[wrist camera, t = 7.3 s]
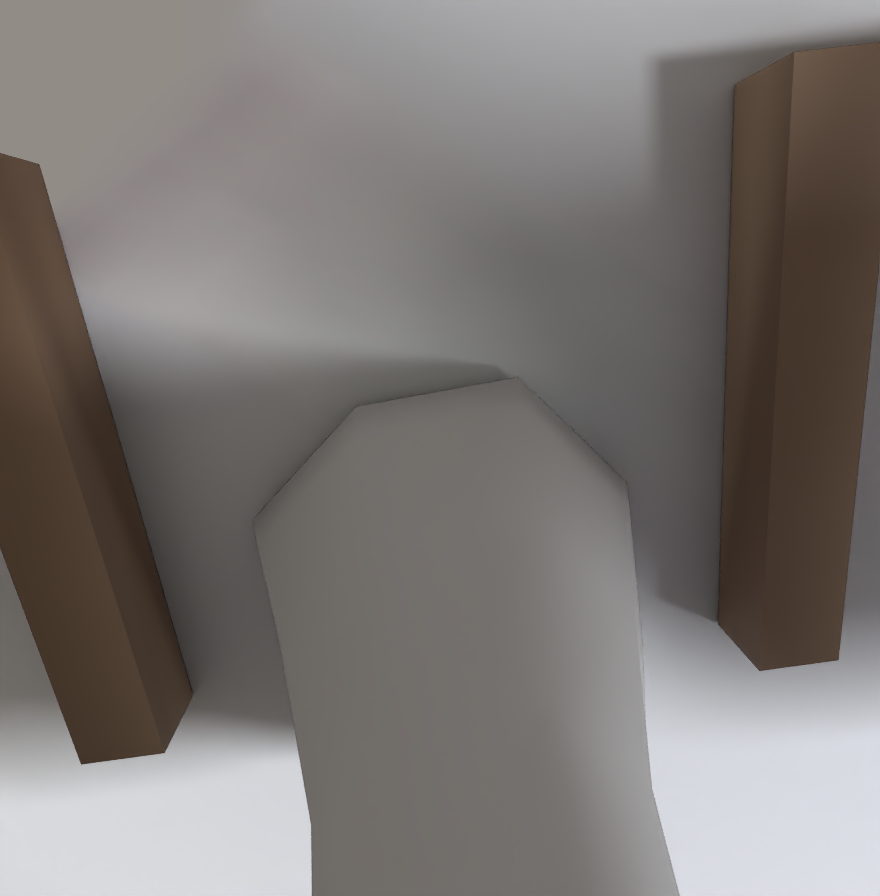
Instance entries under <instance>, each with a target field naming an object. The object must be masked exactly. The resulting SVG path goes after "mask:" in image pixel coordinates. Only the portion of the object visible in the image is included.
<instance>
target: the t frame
mask: <svg viewBox="0 0 880 896" xmlns="http://www.w3.org/2000/svg"><path fill="white" fill-rule="evenodd" d="M879 262H880V42H877V43H868V44H859V45H850V46H841V47H832V48H824V49H815V50H806V51H797V52H793V53H791V54H789V55H788V56H786V57H784V58H782V59H780V60H779V61H777V62H775V63H773V64H771V65H770V66H768V67H766V68H764V69H762V70H761V71H759V72H757V73H755V74H753V75H752V76H750V77H748V78H746V79H744V80H743V81H741V82H739V83H737V84H735V89H734V121H733V154H732V187H731V219H730V252H729V285H728V318H727V350H726V383H725V416H724V448H723V481H722V514H721V547H720V579H719V612H718V625H719V626H720V627H721V628H722V629H723V630H724V631H725V633H726V634H727V635H728V636H729V637H730V638H731V639H732V640H733V642H734V643H735V644H736V645H737V646H738V647H739V648H740V650H741V651H742V652H743V653H744V654H745V655H746V656H747V657H748V659H749V660H750V661H751V662H752V663H753V664H754V665H755V666H756V668H757V669H758V670H759V671H763V670H770V669H777V668H785V667H792V666H799V665H806V664H814V663H821V662H828V661H835V660H838V659H839V650H840V640H841V630H842V621H843V611H844V601H845V592H846V582H847V572H848V563H849V553H850V543H851V534H852V524H853V514H854V504H855V495H856V485H857V475H858V466H859V456H860V446H861V437H862V427H863V417H864V408H865V398H866V388H867V379H868V369H869V359H870V349H871V340H872V330H873V320H874V311H875V301H876V291H877V282H878V272H879ZM0 548H1V551H2V553H3V556H4V559H5V561H6V564H7V567H8V569H9V572H10V575H11V578H12V580H13V583H14V586H15V588H16V591H17V594H18V596H19V599H20V602H21V604H22V607H23V610H24V612H25V615H26V618H27V620H28V623H29V626H30V628H31V631H32V634H33V636H34V639H35V642H36V644H37V647H38V650H39V653H40V655H41V658H42V661H43V663H44V666H45V669H46V671H47V674H48V677H49V679H50V682H51V685H52V687H53V690H54V693H55V695H56V698H57V701H58V703H59V706H60V709H61V711H62V714H63V717H64V720H65V722H66V725H67V728H68V730H69V733H70V736H71V738H72V741H73V744H74V746H75V749H76V752H77V754H78V757H79V760H80V762H81V764H88V763H96V762H103V761H110V760H117V759H125V758H132V757H139V756H146V755H154V754H161V753H165V751H166V749H167V747H168V745H169V743H170V741H171V739H172V737H173V735H174V733H175V731H176V729H177V727H178V725H179V723H180V721H181V719H182V717H183V715H184V713H185V711H186V709H187V707H188V705H189V703H190V700H191V698H192V696H193V694H192V691H191V687H190V684H189V680H188V677H187V673H186V670H185V666H184V663H183V660H182V656H181V653H180V649H179V646H178V642H177V639H176V635H175V632H174V628H173V625H172V621H171V618H170V615H169V611H168V608H167V604H166V601H165V597H164V594H163V590H162V587H161V583H160V580H159V577H158V573H157V570H156V566H155V563H154V559H153V556H152V552H151V549H150V545H149V542H148V539H147V535H146V532H145V528H144V525H143V521H142V518H141V514H140V511H139V507H138V504H137V500H136V497H135V494H134V490H133V487H132V483H131V480H130V476H129V473H128V469H127V466H126V462H125V459H124V456H123V452H122V449H121V445H120V442H119V438H118V435H117V431H116V428H115V424H114V421H113V417H112V414H111V411H110V407H109V404H108V400H107V397H106V393H105V390H104V386H103V383H102V379H101V376H100V373H99V369H98V366H97V362H96V359H95V355H94V352H93V348H92V345H91V341H90V338H89V335H88V331H87V328H86V324H85V321H84V317H83V314H82V310H81V307H80V303H79V300H78V296H77V293H76V290H75V286H74V283H73V279H72V276H71V272H70V269H69V265H68V262H67V258H66V255H65V252H64V248H63V245H62V241H61V238H60V234H59V231H58V227H57V224H56V220H55V217H54V213H53V210H52V207H51V203H50V200H49V196H48V193H47V190H46V186H45V182H44V179H43V176H42V172H41V169H40V165H39V164H36V163H33V162H29V161H26V160H22V159H19V158H15V157H12V156H8V155H5V154H1V153H0Z"/></svg>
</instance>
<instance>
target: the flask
mask: <svg viewBox="0 0 880 896" xmlns="http://www.w3.org/2000/svg"><path fill="white" fill-rule="evenodd" d="M253 525H254V531H255V537H256V543H257V548H258V553H259V557H260V561H261V565H262V570H263V574H264V578H265V582H266V587H267V591H268V595H269V599H270V604H271V608H272V612H273V616H274V621H275V625H276V629H277V634H278V638H279V643H280V649H281V655H282V660H283V666H284V672H285V678H286V683H287V689H288V695H289V701H290V706H291V712H292V718H293V724H294V729H295V735H296V741H297V746H298V752H299V758H300V764H301V769H302V775H303V781H304V787H305V792H306V798H307V804H308V810H309V815H310V821H311V852H312V896H680V895H679V891H678V887H677V884H676V880H675V876H674V872H673V868H672V864H671V860H670V856H669V853H668V849H667V845H666V841H665V837H664V833H663V829H662V825H661V822H660V818H659V814H658V810H657V806H656V802H655V798H654V794H653V791H652V783H651V773H650V763H649V752H648V742H647V732H646V720H645V694H644V668H643V642H642V632H641V621H640V611H639V601H638V590H637V580H636V569H635V559H634V549H633V538H632V528H631V518H630V507H629V498H628V488H627V482H626V481H625V480H624V479H623V478H622V477H621V476H620V475H619V474H618V473H617V472H616V471H615V470H614V469H613V468H612V467H610V466H609V465H608V464H607V463H606V462H605V461H604V460H603V459H602V458H601V457H600V456H599V455H598V454H597V453H596V452H595V451H594V450H593V449H592V448H591V447H590V446H589V445H588V444H587V443H586V442H585V441H583V440H582V439H581V438H580V437H579V436H578V435H577V434H576V433H575V432H574V431H573V430H572V429H571V428H570V427H569V426H568V425H567V424H566V423H565V422H564V421H563V420H562V419H561V418H560V417H559V416H558V415H556V414H555V413H554V412H553V411H552V410H551V409H550V408H549V407H548V406H547V405H546V404H545V403H544V402H543V401H542V400H541V399H540V398H539V397H538V396H537V395H536V394H535V393H534V392H533V391H532V390H531V389H529V388H528V387H527V386H526V385H525V384H524V383H523V382H522V381H521V380H520V379H519V378H518V377H516V378H511V379H505V380H500V381H494V382H489V383H483V384H478V385H472V386H467V387H461V388H456V389H450V390H445V391H439V392H434V393H428V394H423V395H417V396H412V397H406V398H401V399H395V400H390V401H385V402H379V403H374V404H368V405H363V406H357V407H355V408H354V409H353V411H352V412H351V413H350V414H349V415H348V416H347V417H346V418H345V419H344V420H343V422H342V423H341V424H340V425H339V426H338V427H337V428H336V429H335V430H334V431H333V433H332V434H331V435H330V436H329V437H328V438H327V439H326V440H325V441H324V442H323V444H322V445H321V446H320V447H319V448H318V449H317V450H316V451H315V452H314V453H313V455H312V456H311V457H310V458H309V459H308V460H307V461H306V462H305V463H304V464H303V465H302V467H301V468H300V469H299V470H298V471H297V472H296V473H295V474H294V475H293V476H292V478H291V479H290V480H289V481H288V482H287V483H286V484H285V485H284V486H283V487H282V489H281V490H280V491H279V492H278V493H277V494H276V495H275V496H274V497H273V498H272V500H271V501H270V502H269V503H268V504H267V505H266V506H265V507H264V508H263V509H262V511H261V512H260V513H259V514H258V515H257V516H256V517H255V518H254V519H253Z"/></svg>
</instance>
